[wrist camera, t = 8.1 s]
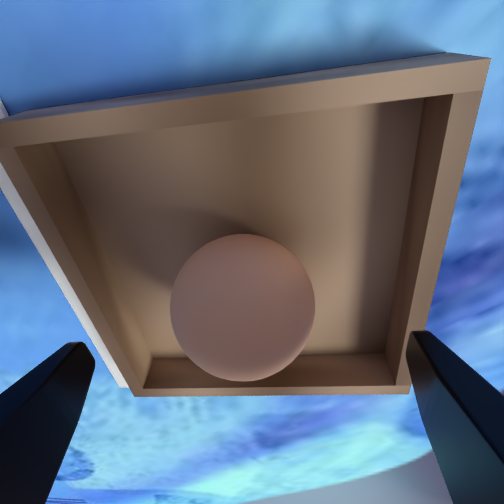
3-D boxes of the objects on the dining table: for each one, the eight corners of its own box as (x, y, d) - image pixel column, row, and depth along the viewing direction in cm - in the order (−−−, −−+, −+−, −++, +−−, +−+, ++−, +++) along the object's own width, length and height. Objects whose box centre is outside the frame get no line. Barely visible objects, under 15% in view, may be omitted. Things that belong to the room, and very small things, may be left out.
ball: (202, 309, 14) (174, 413, 10) (174, 214, 11) (124, 306, 7) (310, 303, 13) (324, 412, 9) (306, 202, 11) (324, 296, 7)
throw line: (121, 384, 18) (119, 387, 18) (-80, 43, 9) (-87, 43, 9) (146, 383, 18) (145, 387, 18) (-33, 35, 9) (-39, 35, 9)
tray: (149, 360, 17) (134, 396, 15) (29, 109, 10) (-21, 125, 8) (394, 354, 15) (408, 394, 13) (449, 52, 8) (490, 58, 7)
